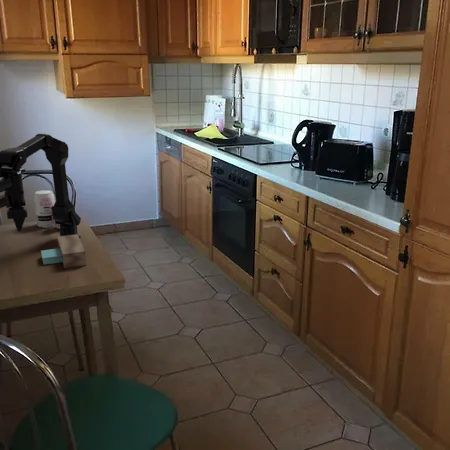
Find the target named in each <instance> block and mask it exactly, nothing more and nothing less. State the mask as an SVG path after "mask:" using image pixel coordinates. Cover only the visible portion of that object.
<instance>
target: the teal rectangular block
mask: <svg viewBox="0 0 450 450" xmlns="http://www.w3.org/2000/svg"><path fill="white" fill-rule="evenodd" d="M40 253H41V260H42V264H43V265H50V264H57V263H63V255H62V252H61V249H60V248H59V249H58V248H52V249H44V250H40Z"/></svg>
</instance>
